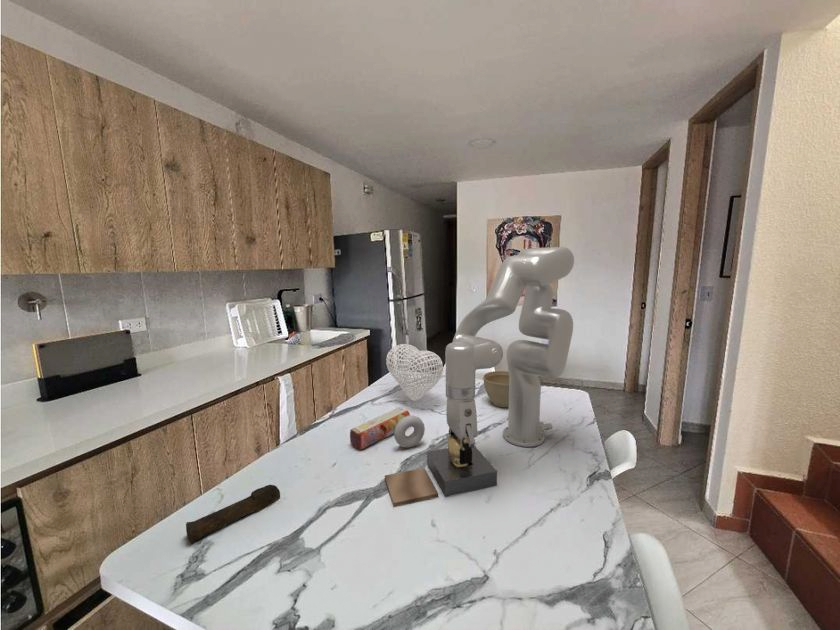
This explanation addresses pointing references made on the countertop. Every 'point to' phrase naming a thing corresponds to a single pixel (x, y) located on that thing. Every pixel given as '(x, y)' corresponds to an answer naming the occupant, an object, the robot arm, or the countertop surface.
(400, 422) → the donut
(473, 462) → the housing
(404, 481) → the board
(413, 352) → the heart
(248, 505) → the hand tool
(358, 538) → the countertop surface
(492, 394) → the planter bowl
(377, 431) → the snack package
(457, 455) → the end cover
